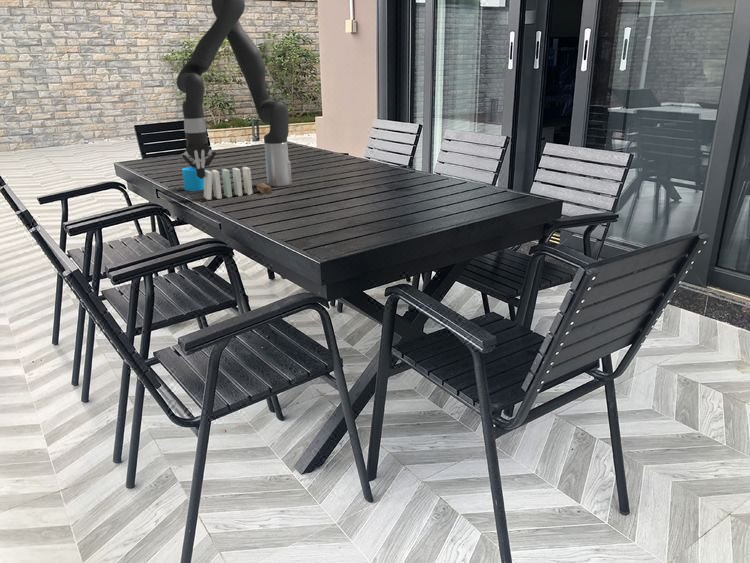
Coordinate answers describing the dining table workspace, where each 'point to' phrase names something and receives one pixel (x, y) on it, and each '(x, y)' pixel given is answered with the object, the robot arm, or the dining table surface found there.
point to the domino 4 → (237, 181)
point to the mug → (192, 179)
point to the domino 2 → (216, 184)
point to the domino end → (247, 180)
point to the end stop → (264, 188)
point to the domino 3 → (226, 183)
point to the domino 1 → (208, 185)
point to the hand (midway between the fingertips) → (201, 178)
